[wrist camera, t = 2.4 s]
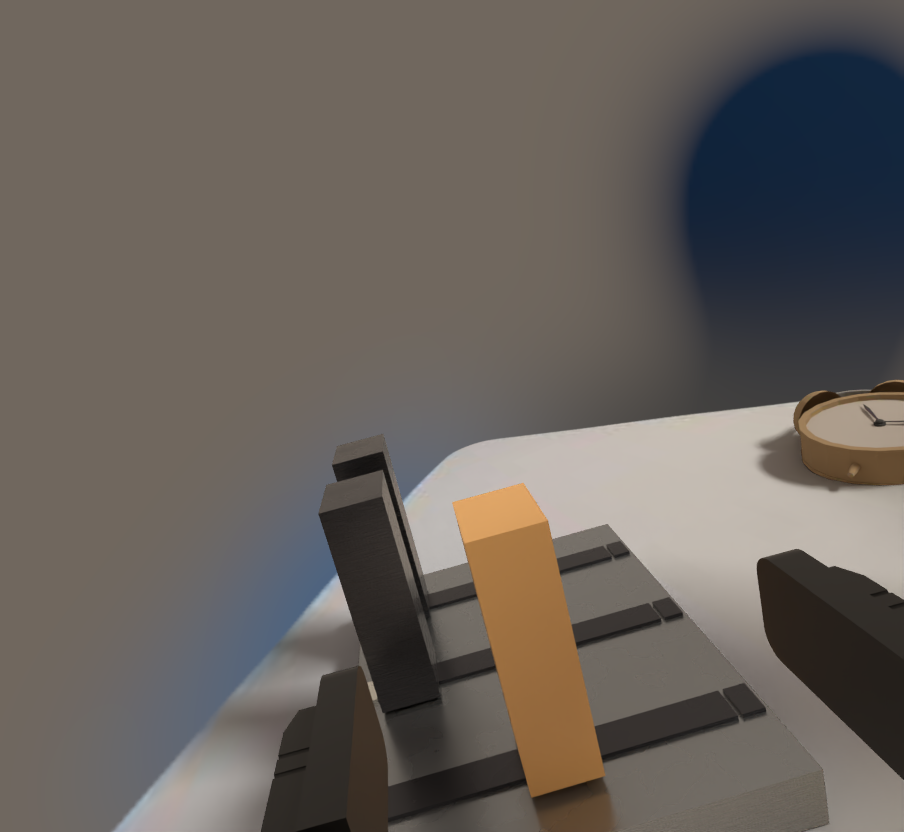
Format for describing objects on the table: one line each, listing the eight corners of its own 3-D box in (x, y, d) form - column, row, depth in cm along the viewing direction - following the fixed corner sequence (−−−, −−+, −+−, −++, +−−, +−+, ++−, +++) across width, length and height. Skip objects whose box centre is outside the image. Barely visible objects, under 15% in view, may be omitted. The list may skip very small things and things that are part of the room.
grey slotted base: (361, 965, 23) (239, 640, 19) (373, 622, 45) (317, 443, 42) (829, 823, 24) (788, 488, 20) (613, 555, 46) (577, 374, 43)
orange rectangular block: (531, 797, 24) (464, 543, 22) (511, 725, 28) (452, 502, 26) (605, 776, 24) (547, 520, 22) (575, 707, 28) (523, 482, 26)
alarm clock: (819, 461, 46) (774, 377, 59) (822, 516, 48) (778, 423, 61) (1006, 440, 42) (915, 354, 55) (1001, 500, 44) (915, 404, 57)
